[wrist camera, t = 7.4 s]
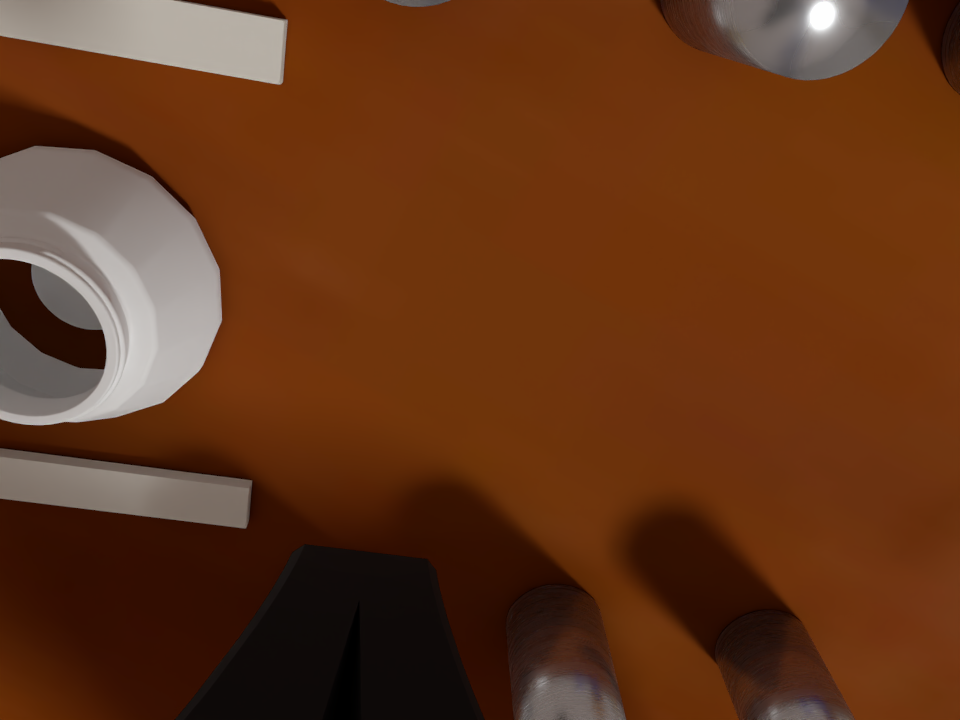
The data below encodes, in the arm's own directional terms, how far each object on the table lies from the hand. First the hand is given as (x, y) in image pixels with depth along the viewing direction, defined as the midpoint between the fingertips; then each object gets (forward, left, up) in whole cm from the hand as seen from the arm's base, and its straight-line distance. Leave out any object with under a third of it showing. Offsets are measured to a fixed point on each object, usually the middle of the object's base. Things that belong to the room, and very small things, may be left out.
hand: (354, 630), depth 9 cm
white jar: (0, +6, -9) cm, 11 cm away
